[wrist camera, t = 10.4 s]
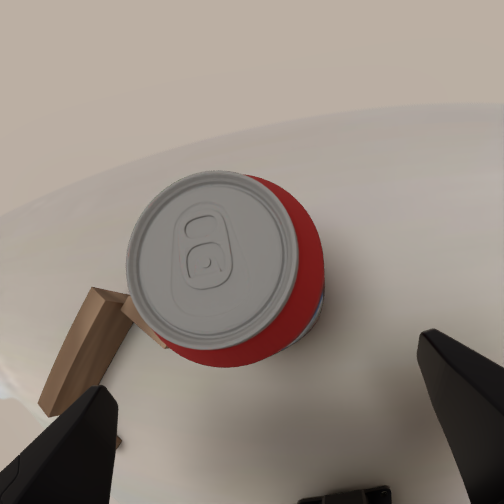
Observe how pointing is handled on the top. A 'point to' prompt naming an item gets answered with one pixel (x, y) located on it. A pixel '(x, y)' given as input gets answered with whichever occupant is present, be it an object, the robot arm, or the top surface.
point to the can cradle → (90, 348)
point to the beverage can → (226, 268)
